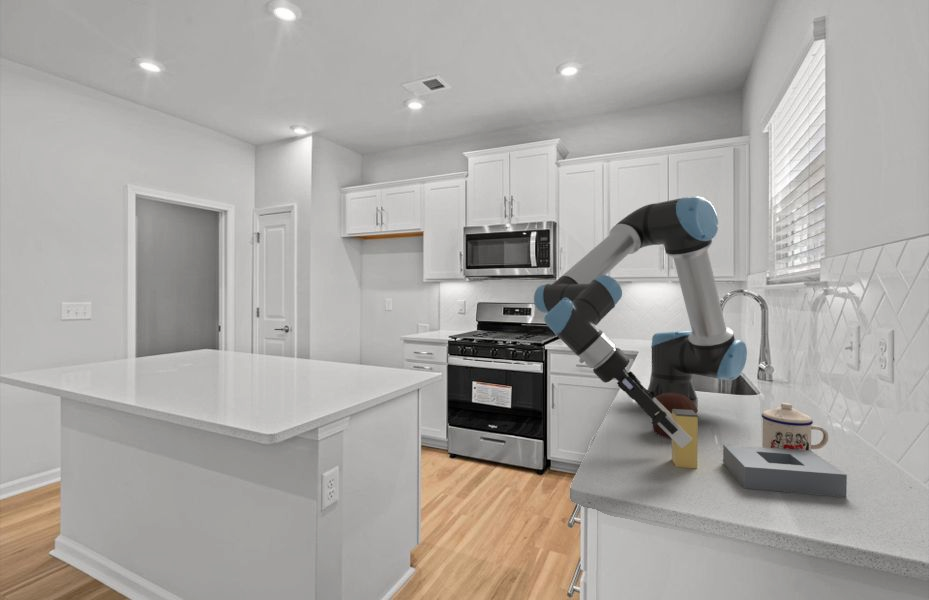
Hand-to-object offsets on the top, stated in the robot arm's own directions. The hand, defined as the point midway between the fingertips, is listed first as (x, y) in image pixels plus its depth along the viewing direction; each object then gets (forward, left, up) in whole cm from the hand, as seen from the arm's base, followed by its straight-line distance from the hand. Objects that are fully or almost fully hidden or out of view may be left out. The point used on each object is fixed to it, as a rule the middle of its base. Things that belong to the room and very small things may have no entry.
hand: (678, 432), depth 93 cm
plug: (-1, +1, -7) cm, 7 cm away
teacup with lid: (-10, +25, -7) cm, 28 cm away
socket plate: (+3, +17, -7) cm, 19 cm away
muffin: (-22, +3, -7) cm, 23 cm away
